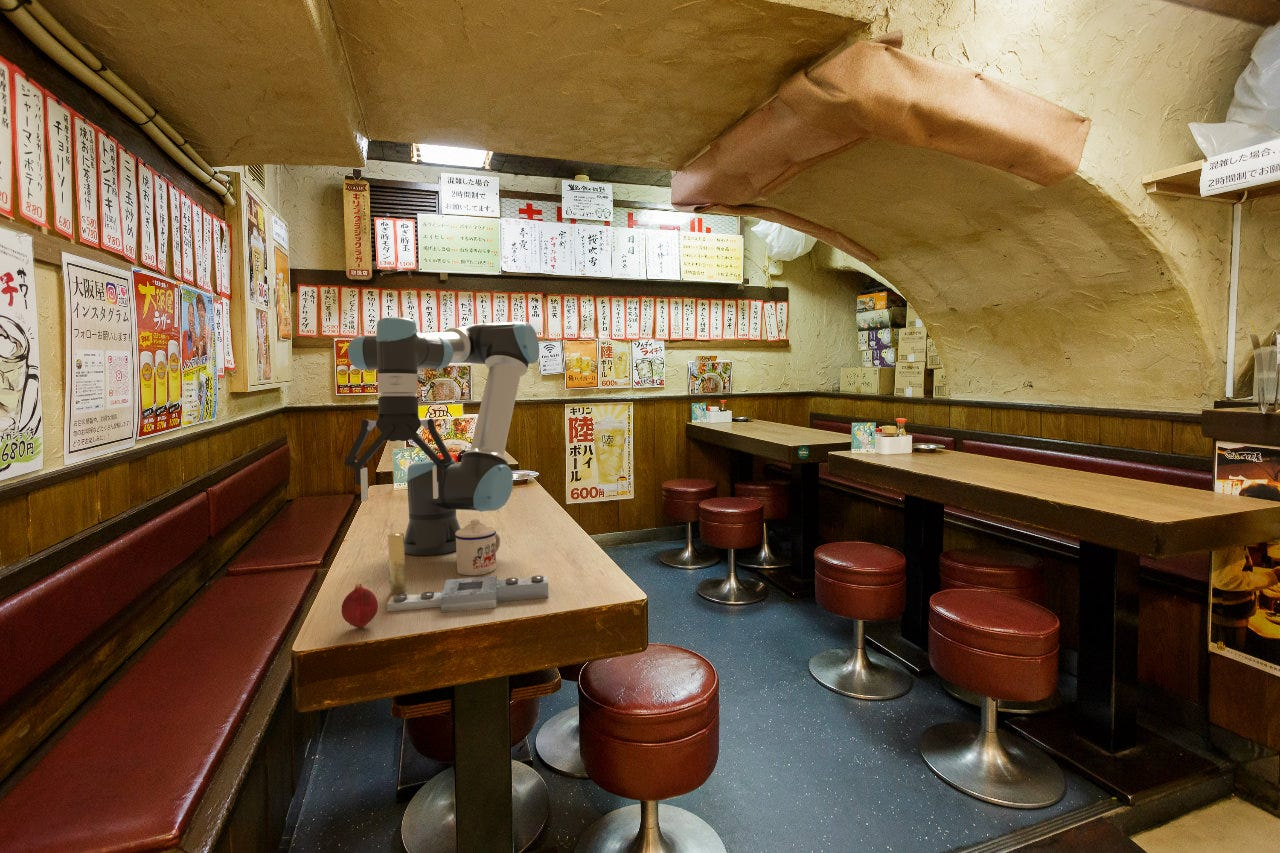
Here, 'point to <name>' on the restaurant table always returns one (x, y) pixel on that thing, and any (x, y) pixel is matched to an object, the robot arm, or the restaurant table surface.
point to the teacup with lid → (476, 549)
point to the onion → (359, 607)
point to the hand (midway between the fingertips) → (400, 499)
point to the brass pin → (397, 563)
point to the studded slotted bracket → (473, 594)
